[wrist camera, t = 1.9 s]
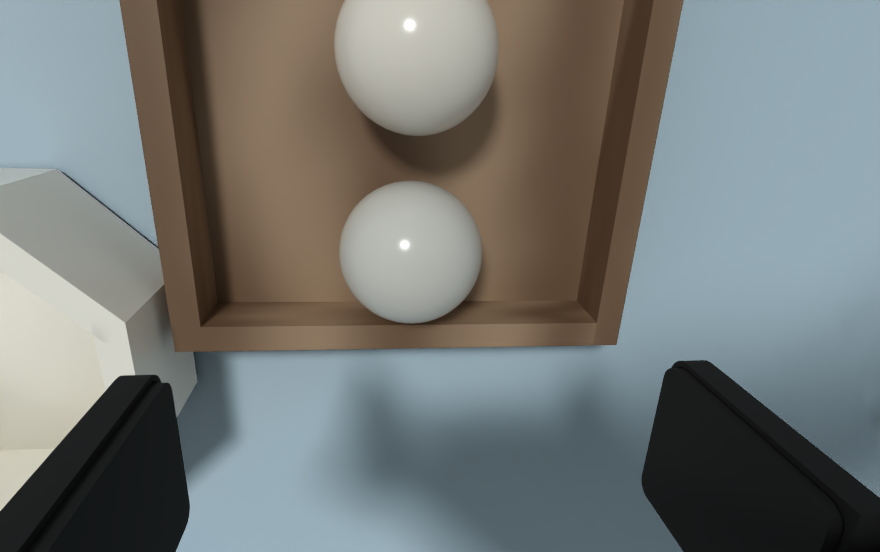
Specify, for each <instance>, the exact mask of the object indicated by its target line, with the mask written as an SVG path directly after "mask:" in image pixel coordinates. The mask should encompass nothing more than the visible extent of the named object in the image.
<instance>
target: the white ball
mask: <svg viewBox="0 0 880 552" xmlns="http://www.w3.org/2000/svg"><path fill="white" fill-rule="evenodd" d="M339 259H340V266H341V270H342V274H343V276H344V279H345V281H346V284H347V285H348V287H349V289H350V291H351V292H352V294H353V295H354V296H355V298H356V299H357V300H358V301H359V302H360V303H361V304H362V305H363V306H364V307H366V308H367V309H368V310H370V311H371V312H373V313H374V314H376V315H378V316H380V317H382V318H384V319H387V320H390V321H394V322H399V323H411V324H413V323H423V322H428V321H431V320H434V319H437V318H439V317H442V316H444V315H445V314H447V313H449V312H450V311H452V310H453V309H455V308H456V307H457V306H458V305H459V304H460V303H461V302H462V301H463V300H464V299H465V298H466V297H467V296H468V294H469V293H470V291H471V290H472V288H473V286H474V284H475V282H476V280H477V278H478V275H479V272H480V268H481V262H482V243H481V237H480V233H479V229H478V227H477V225H476V222H475V220H474V218H473V216H472V215H471V213H470V211H469V210H468V209H467V208H466V206H465V205H464V204H463V203H462V202H461V201H460V200H459V199H458V198H457V197H456V196H454V195H453V194H451V193H450V192H449V191H447V190H445V189H443V188H441V187H439V186H437V185H434V184H431V183H427V182H422V181H400V182H394V183H391V184H387V185H384V186H382V187H380V188H378V189H376V190H374V191H373V192H371V193H369V194H368V195H367V196H365V197H364V198H363V199H362V200H361V201H360V202H359V203H358V204H357V205H356V206H355V207H354V209H353V210H352V212H351V213H350V215H349V216H348V218H347V220H346V222H345V225H344V227H343V230H342V233H341V238H340V243H339Z"/></svg>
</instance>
